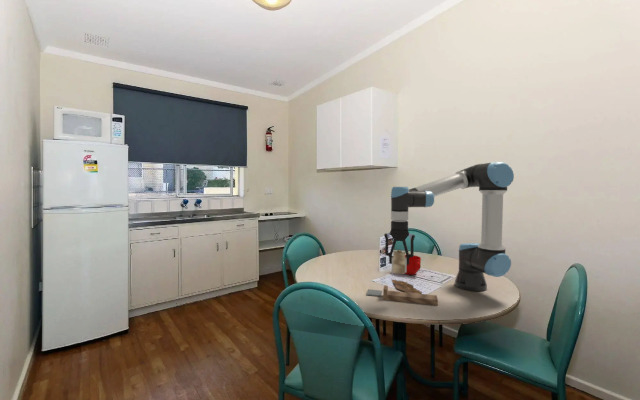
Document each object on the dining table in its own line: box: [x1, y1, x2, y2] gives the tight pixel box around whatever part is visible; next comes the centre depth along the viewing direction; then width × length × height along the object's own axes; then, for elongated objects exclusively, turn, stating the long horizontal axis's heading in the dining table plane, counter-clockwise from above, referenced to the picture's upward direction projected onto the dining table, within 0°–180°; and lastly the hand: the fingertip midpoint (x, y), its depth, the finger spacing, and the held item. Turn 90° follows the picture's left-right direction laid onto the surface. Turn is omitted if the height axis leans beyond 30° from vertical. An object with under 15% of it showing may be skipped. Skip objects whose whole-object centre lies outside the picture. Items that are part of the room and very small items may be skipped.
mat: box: [365, 288, 383, 298], centre depth 144 cm, size 7×7×1 cm
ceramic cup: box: [405, 254, 422, 276], centre depth 176 cm, size 13×17×10 cm
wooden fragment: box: [391, 279, 423, 294], centre depth 154 cm, size 26×11×1 cm, turn 9°
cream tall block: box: [392, 249, 406, 275], centre depth 132 cm, size 5×5×10 cm
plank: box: [382, 285, 439, 306], centre depth 136 cm, size 24×6×5 cm, turn 73°
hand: (399, 271), depth 132 cm, fingers closed on cream tall block, 5 cm apart
